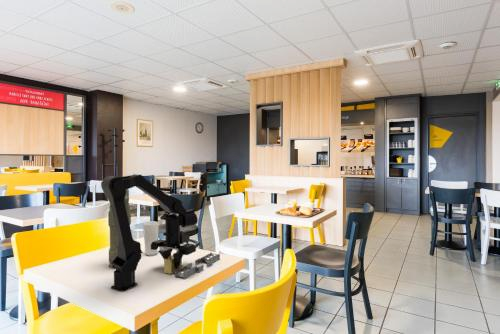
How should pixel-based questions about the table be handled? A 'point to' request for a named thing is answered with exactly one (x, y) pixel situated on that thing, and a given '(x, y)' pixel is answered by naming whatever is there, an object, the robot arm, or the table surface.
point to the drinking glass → (150, 236)
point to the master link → (170, 265)
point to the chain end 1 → (188, 271)
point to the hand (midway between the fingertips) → (173, 268)
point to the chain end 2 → (208, 259)
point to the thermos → (113, 231)
